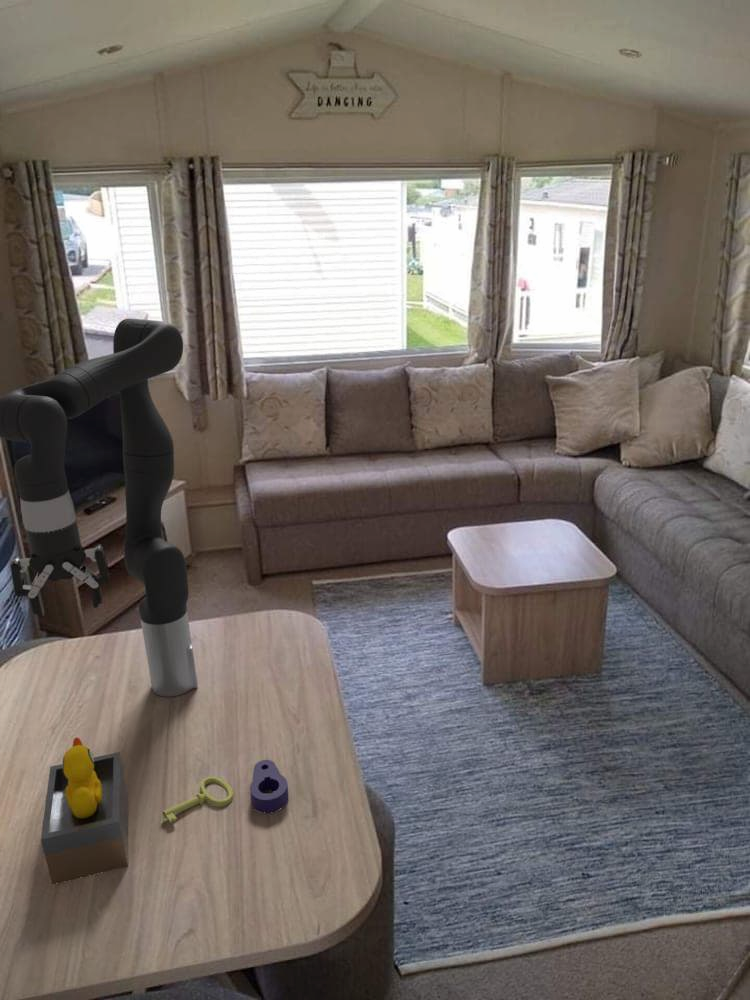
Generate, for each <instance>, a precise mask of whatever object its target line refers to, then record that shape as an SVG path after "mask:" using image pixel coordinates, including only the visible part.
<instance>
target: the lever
mask: <svg viewBox="0 0 750 1000" xmlns="http://www.w3.org/2000/svg"><path fill="white" fill-rule="evenodd" d="M252 774H253V775H252V780H251V781H252V782H251V783H250V785H249V792H250V793H249V794H250V802H251V806H252V808H253V810H255V809H256V810H255V811H257V812H258V811H259V812H258V813H261V812H262V814H272V813H271V812H274V813H276V812H275V811H277V810H279V809H280V808H282V807H283V806H284V805H285V804H286V803H287V804H288V802H287V801H289V799H288V797H289V796H288V795H289V788H288V781H287V778H286V777H285V776H284V775H282V774H280V772H279V769H278V767H277V765H276V763H275V762H274V761H273V760H271V759H262V760H259V761H258V762H257V763H255V765H254V766H253V773H252ZM266 790H267V791H270V790H271V792H270V793H267V792H266ZM272 791H275V792H272ZM287 804H286V805H287ZM286 805H285V806H286ZM285 806H284V807H285ZM284 807H283V808H284ZM283 808H282V809H283ZM279 811H280V810H279ZM264 812H265V813H264ZM277 812H278V811H277Z"/></svg>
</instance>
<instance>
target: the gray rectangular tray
mask: <svg viewBox="0 0 750 1000" xmlns="http://www.w3.org/2000/svg"><path fill="white" fill-rule="evenodd" d="M93 758H94V769H93V770H94V771H95V773H96V775H97V778H98V779H99V780H100V782H101V786H102V801H101V803H100V804H98V805H97V809H96V811H95V813H94V814H93V815H92V816H90V817H87V818H83V819H80V818H77V817H75V816H74V814H73V812H72V811H71V810H70V808H69V806H68V803H67V799H66V794H65V789H66V787H67V786H68V779H67V778H66V776H65V774H64V772H63V766H62V763H61V764H57V765H51V766H50V767H49V774H48V780H47V781H48V782H47V789H46V796H45V803H44V804H45V805H44V813H43V819H42V826H41V836H40V842H41V847H42V850H43V854H44V858H45V862H46V866H47V869H48V872H49V873H48V874H49V877H50V882H51V885H52V886H53V884H55V885H57V884H56V883H59V884H62V883H61V882H63V883H65V882H64V881H67V882H70V881H69V880H71V881H75V880H78V879H77V878H79V879H81V878H80V877H83V878H87V877H90V876H89V875H91V876H94V874H95V875H98V874H97V873H99V874H102V873H101V872H103V873H106V872H110V870H111V871H115V870H119V869H123V868H126V867H129V791H128V786H127V781H126V776H125V771H124V766H123V761H122V755H121V752H120V751H118V752H113V753H109V754H104V755H100V756H93ZM114 869H115V870H114ZM86 876H87V877H86ZM74 879H75V880H74Z"/></svg>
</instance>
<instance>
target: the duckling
mask: <svg viewBox="0 0 750 1000" xmlns="http://www.w3.org/2000/svg"><path fill="white" fill-rule="evenodd" d="M61 764H62V766H63V772H64V774H65V776H66V778H67V779H68V786H67V787H66V789H65V794H66V799H67V803H68V806H69V808H70V810H71V811H72V812H73V814H74V816H75V817H77V818H80V819H83V818H87V817H90V816H92V815H93V814H94V813H95V811H96V809H97V805H98V804H100V803H101V801H102V786H101V782H100V780H99V779H98V778H97V775H96V773H95V771H94V770H93V769H94V755H93V753H92V751H91V749H89V747H87V746H85V745H84V744H83V742H82V740H81V739H80V738H79V737H74V738H73V741H72V747H70V748H69V749H68V750H66V751H65V753H64V755H63V758H62V763H61Z"/></svg>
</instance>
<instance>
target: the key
mask: <svg viewBox="0 0 750 1000" xmlns="http://www.w3.org/2000/svg"><path fill="white" fill-rule="evenodd" d="M210 783H216V784H218V785H219V786H222V787H223V788H224V789H225V791H226V793H227V797H226V798H223V799H217V798H215V797H213V796H212V795H210V793H208V791H207V790H206V786H207V785H208V784H210ZM199 787H200V788H199V790H200V793H196V795H195V797H193V798H189V799H188V800H186V801H184V802H181V803H179V804H177V805H173V806H171V807H170V808H168V809H166V810H162V815H163V818H164V819H167V820H168V822H169V823H172V822H173V821H177V819H178V818H177V816H176V815H177V814H178V813H181V812H183V811H186V810H187V809H189V808H192V807H194V806H196V805H198V804H199V805H201V806H202V805H203V804H204V802H205V801H206V802H207V803H208V804H210V805H211V806H214V807H217V808H218V807H224V806H226V805H227V806H228V805H229V804H230V803H231V802H232V800H233V799H234V796H235V795H234V794H235V793H234V790H233V788H232V787H231V785H230V784H229V783H228V782H227V781H226V780H225V779H223V778H220V777H218V776H214V775H213V776H208V777H205V778H203V779H202V780H201V782H200V786H199Z"/></svg>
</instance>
